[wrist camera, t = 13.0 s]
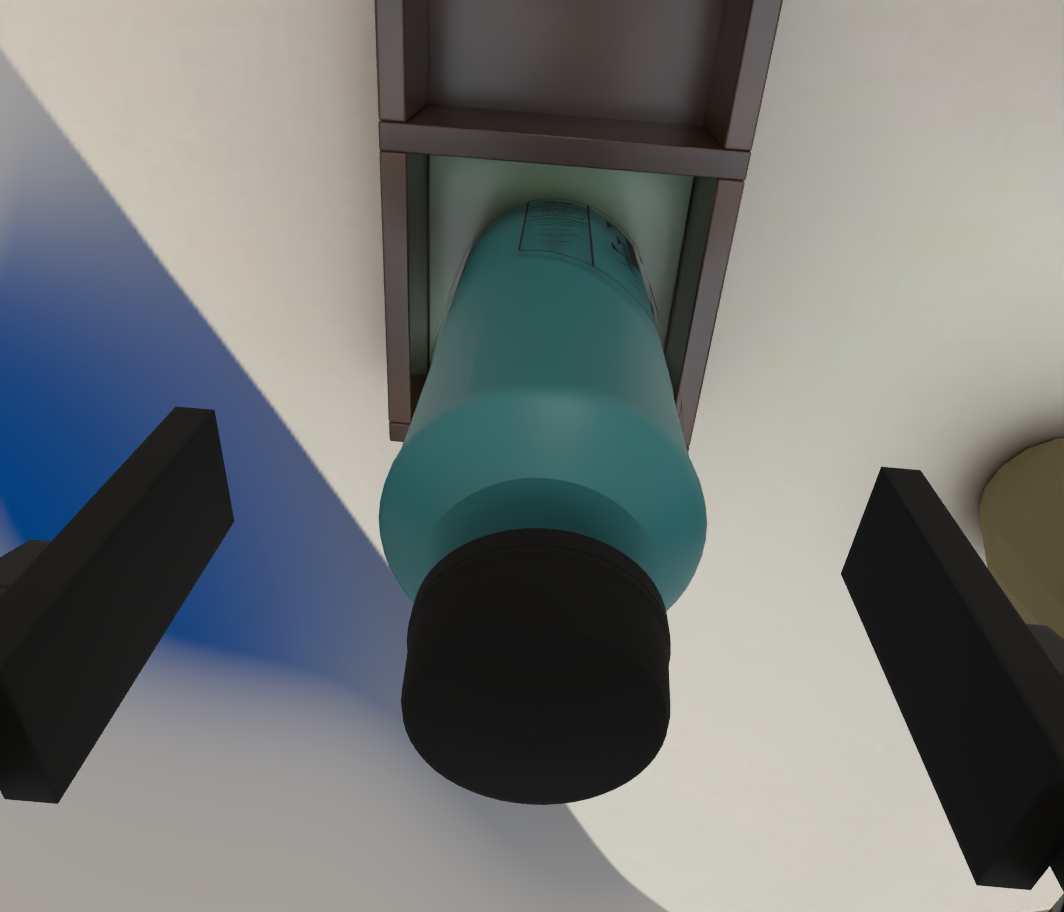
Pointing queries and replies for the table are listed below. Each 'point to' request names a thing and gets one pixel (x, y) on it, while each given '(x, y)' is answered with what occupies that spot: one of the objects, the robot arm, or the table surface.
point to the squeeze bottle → (1028, 532)
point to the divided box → (565, 150)
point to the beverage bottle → (543, 518)
